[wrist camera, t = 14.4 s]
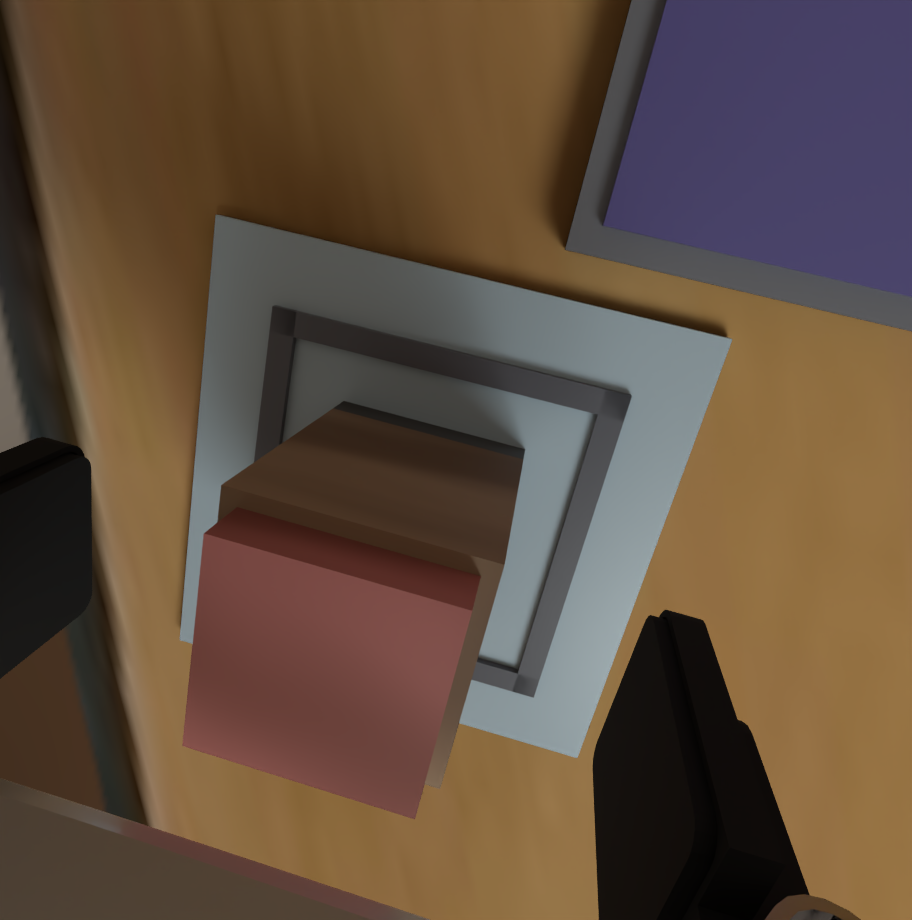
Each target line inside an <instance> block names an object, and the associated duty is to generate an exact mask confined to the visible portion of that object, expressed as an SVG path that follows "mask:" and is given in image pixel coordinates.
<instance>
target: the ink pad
mask: <svg viewBox="0 0 912 920" xmlns="http://www.w3.org/2000/svg"><path fill="white" fill-rule="evenodd" d="M565 250H568V251H573V252H577V253H581V254H585V255H590V256H594V257H598V258H602V259H607V260H611V261H615V262H619V263H624V264H628V265H632V266H636V267H641V268H645V269H649V270H653V271H658V272H662V273H666V274H670V275H674V276H679V277H683V278H687V279H691V280H696V281H700V282H704V283H708V284H713V285H717V286H721V287H725V288H730V289H734V290H738V291H742V292H747V293H751V294H755V295H759V296H764V297H768V298H772V299H776V300H781V301H785V302H789V303H793V304H798V305H802V306H806V307H810V308H815V309H819V310H823V311H827V312H832V313H836V314H840V315H844V316H849V317H853V318H857V319H861V320H866V321H870V322H874V323H878V324H883V325H887V326H891V327H895V328H900V329H904V330H908V331H912V0H631V4H630V8H629V12H628V15H627V19H626V23H625V27H624V30H623V34H622V38H621V42H620V45H619V49H618V53H617V57H616V60H615V64H614V68H613V72H612V75H611V79H610V83H609V87H608V90H607V94H606V98H605V102H604V105H603V109H602V113H601V117H600V120H599V124H598V128H597V132H596V135H595V139H594V143H593V147H592V150H591V154H590V158H589V162H588V165H587V169H586V173H585V177H584V180H583V184H582V188H581V192H580V195H579V199H578V203H577V207H576V210H575V214H574V218H573V222H572V225H571V229H570V233H569V237H568V240H567V244H566V248H565Z"/></svg>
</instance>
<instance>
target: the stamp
mask: <svg viewBox="0 0 912 920" xmlns="http://www.w3.org/2000/svg"><path fill="white" fill-rule="evenodd" d="M524 454H525V449H522V448H519V447H515V446H511V445H507V444H504V443H500V442H496V441H492V440H489V439H485V438H481V437H477V436H474V435H470V434H466V433H463V432H459V431H455V430H451V429H448V428H444V427H440V426H436V425H433V424H429V423H425V422H421V421H418V420H414V419H410V418H406V417H403V416H399V415H395V414H391V413H388V412H384V411H380V410H376V409H373V408H369V407H365V406H361V405H358V404H354V403H350V402H347V401H343V402H341V403H340V404H339V405H337V406H336V407H334V408H333V409H331V410H330V411H328V412H327V413H325V414H324V415H323V416H321V417H320V418H318V419H317V420H315V421H314V422H312V423H311V424H309V425H308V426H306V427H305V428H304V429H302V430H301V431H299V432H298V433H296V434H295V435H293V436H292V437H290V438H289V439H288V440H286V441H285V442H283V443H282V444H280V445H279V446H277V447H276V448H274V449H273V450H271V451H270V452H269V453H267V454H266V455H264V456H263V457H261V458H260V459H258V460H257V461H255V462H254V463H253V464H251V465H250V466H248V467H247V468H245V469H244V470H242V471H241V472H239V473H238V474H236V475H235V476H234V477H232V478H231V479H229V480H228V481H226V482H225V483H223V484H222V485H221V492H220V501H219V511H218V520H217V523H216V524H215V525H214V526H212V527H211V528H210V529H209V530H207V531H206V532H205V533H204V535H203V545H202V555H201V565H200V575H199V585H198V595H197V605H196V615H195V625H194V635H193V645H192V655H191V665H190V675H189V685H188V695H187V705H186V715H185V725H184V735H183V745H182V746H185V747H188V748H191V749H194V750H197V751H200V752H204V753H207V754H210V755H213V756H216V757H219V758H223V759H226V760H229V761H232V762H235V763H238V764H242V765H245V766H248V767H251V768H254V769H257V770H261V771H264V772H267V773H270V774H273V775H276V776H280V777H283V778H286V779H289V780H292V781H295V782H299V783H302V784H305V785H308V786H311V787H314V788H318V789H321V790H324V791H327V792H330V793H333V794H337V795H340V796H343V797H346V798H349V799H352V800H356V801H359V802H362V803H365V804H368V805H371V806H375V807H378V808H381V809H384V810H387V811H390V812H394V813H397V814H400V815H403V816H406V817H409V818H413V819H415V817H416V813H417V809H418V806H419V802H420V799H421V795H422V791H423V788H424V784H426V785H429V786H432V787H435V788H439V789H440V787H441V784H442V780H443V777H444V773H445V770H446V766H447V763H448V759H449V756H450V752H451V749H452V746H453V742H454V739H455V735H456V732H457V728H458V725H459V721H460V718H461V714H462V711H463V707H464V704H465V700H466V697H467V694H468V690H469V687H470V683H471V680H472V676H473V673H474V669H475V666H476V662H477V659H478V655H479V652H480V649H481V645H482V642H483V638H484V635H485V631H486V628H487V624H488V621H489V617H490V614H491V610H492V607H493V603H494V600H495V597H496V593H497V590H498V586H499V583H500V579H501V576H502V572H503V569H504V565H505V560H506V555H507V549H508V543H509V538H510V532H511V527H512V521H513V515H514V510H515V504H516V499H517V493H518V488H519V482H520V476H521V471H522V465H523V460H524Z"/></svg>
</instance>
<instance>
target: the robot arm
mask: <svg viewBox="0 0 912 920" xmlns="http://www.w3.org/2000/svg"><path fill="white" fill-rule="evenodd" d="M91 596H92V519H91V464H90V462H89V460H88V459H87V458H85V457H84V453H83V451H82V450H81V449H80V448H79V447H78V446H74V445H71V444H67V443H64V442H60V441H56V440H53V439H49V438H45V437H41V438H36V439H34V440H31V441H29V442H26V443H24V444H21V445H19V446H17V447H14V448H11V449H9V450H7V451H4V452H1V453H0V678H2V677H3V676H4V675H5V674H6V673H8V672H9V671H10V670H12V669H13V668H14V667H15V666H17V665H18V664H19V663H20V662H21V661H23V660H24V659H25V658H27V657H28V656H29V655H30V654H31V653H33V652H34V651H35V650H37V649H38V648H39V647H40V646H42V645H43V644H44V643H45V642H47V641H48V640H49V639H50V638H52V637H53V636H54V635H55V634H57V633H58V632H59V631H60V630H62V629H63V628H64V627H65V626H67V625H68V624H69V623H71V622H72V621H73V620H74V619H76V618H77V617H78V616H79V615H80V614H81V613H82V612H83V611H84V610H85V609H86V607H87V606H88V604H89V602H90V599H91ZM593 787H594V811H595V835H596V860H597V884H598V908H599V920H861V919H859V918H858V917H857V916H855V915H854V914H852V913H851V912H850V911H848V910H846V909H844V908H842V907H840V906H838V905H836V904H834V903H832V902H830V901H828V900H826V899H823V898H819V897H814V896H810V895H809V892H808V889H807V887H806V884H805V881H804V878H803V875H802V873H801V870H800V867H799V864H798V861H797V859H796V856H795V853H794V850H793V847H792V845H791V842H790V839H789V836H788V833H787V830H786V828H785V825H784V822H783V819H782V816H781V814H780V811H779V808H778V805H777V802H776V800H775V797H774V794H773V791H772V788H771V786H770V783H769V780H768V777H767V774H766V772H765V769H764V766H763V763H762V760H761V757H760V755H759V752H758V749H757V746H756V743H755V741H754V738H753V735H752V733H751V731H750V729H749V727H748V725H746V724H745V723H744V722H742V721H739V720H737V717H736V714H735V711H734V708H733V705H732V702H731V699H730V696H729V693H728V690H727V687H726V684H725V681H724V678H723V675H722V672H721V669H720V666H719V663H718V660H717V657H716V655H715V652H714V649H713V646H712V643H711V640H710V637H709V634H708V631H707V628H706V625H705V623H704V621H703V620H701V619H698V618H694V617H690V616H687V615H683V614H680V613H676V612H672V611H669V610H665V611H663V612H662V613H661V615H660V616H659V617H655V616H652V615H650V616H648V618H647V619H646V621H645V623H644V626H643V628H642V631H641V633H640V636H639V638H638V641H637V643H636V646H635V648H634V651H633V653H632V656H631V658H630V661H629V663H628V666H627V668H626V671H625V673H624V676H623V678H622V681H621V683H620V686H619V688H618V691H617V693H616V696H615V698H614V701H613V703H612V706H611V708H610V711H609V714H608V716H607V719H606V721H605V724H604V726H603V729H602V731H601V734H600V736H599V739H598V741H597V744H596V748H595V752H594V758H593ZM0 920H429V919H426V918H423V917H420V916H417V915H414V914H411V913H408V912H405V911H402V910H399V909H396V908H393V907H390V906H387V905H384V904H381V903H378V902H375V901H372V900H369V899H366V898H363V897H360V896H357V895H354V894H351V893H348V892H345V891H342V890H339V889H336V888H333V887H330V886H327V885H324V884H321V883H318V882H315V881H312V880H309V879H306V878H303V877H300V876H297V875H294V874H291V873H288V872H285V871H282V870H279V869H276V868H273V867H270V866H267V865H264V864H261V863H258V862H255V861H252V860H249V859H246V858H243V857H240V856H237V855H234V854H231V853H228V852H225V851H222V850H219V849H216V848H213V847H210V846H207V845H204V844H201V843H198V842H195V841H191V840H188V839H185V838H182V837H179V836H176V835H173V834H170V833H167V832H164V831H161V830H158V829H155V828H152V827H149V826H146V825H143V824H139V823H136V822H133V821H130V820H127V819H124V818H121V817H118V816H115V815H112V814H109V813H106V812H103V811H100V810H97V809H93V808H90V807H87V806H84V805H81V804H78V803H75V802H72V801H69V800H66V799H63V798H60V797H57V796H53V795H50V794H47V793H44V792H41V791H38V790H35V789H32V788H29V787H26V786H23V785H20V784H16V783H13V782H10V781H7V780H4V779H1V778H0Z"/></svg>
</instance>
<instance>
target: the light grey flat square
mask: <svg viewBox="0 0 912 920" xmlns="http://www.w3.org/2000/svg"><path fill="white" fill-rule="evenodd" d="M731 342H732V339H731V338H728V337H724V336H720V335H716V334H712V333H708V332H704V331H699V330H695V329H691V328H687V327H683V326H679V325H675V324H670V323H666V322H662V321H658V320H654V319H650V318H646V317H641V316H637V315H633V314H629V313H625V312H621V311H617V310H612V309H608V308H604V307H600V306H596V305H592V304H588V303H583V302H579V301H575V300H571V299H567V298H563V297H559V296H554V295H550V294H546V293H542V292H538V291H534V290H530V289H525V288H521V287H517V286H513V285H509V284H505V283H501V282H496V281H492V280H488V279H484V278H480V277H476V276H472V275H467V274H463V273H459V272H455V271H451V270H447V269H443V268H438V267H434V266H430V265H426V264H422V263H418V262H414V261H409V260H405V259H401V258H397V257H393V256H389V255H385V254H380V253H376V252H372V251H368V250H364V249H360V248H356V247H351V246H347V245H343V244H339V243H335V242H331V241H327V240H323V239H318V238H314V237H310V236H306V235H302V234H298V233H294V232H289V231H285V230H281V229H277V228H273V227H269V226H265V225H260V224H256V223H252V222H248V221H244V220H240V219H236V218H231V217H227V216H223V215H216V217H215V229H214V240H213V252H212V264H211V276H210V288H209V300H208V311H207V323H206V335H205V347H204V359H203V371H202V383H201V394H200V406H199V418H198V430H197V442H196V454H195V465H194V477H193V489H192V501H191V513H190V525H189V536H188V548H187V560H186V572H185V584H184V596H183V608H182V619H181V631H180V640H182V641H185V642H188V643H192V644H193V635H194V625H195V615H196V605H197V595H198V585H199V575H200V565H201V555H202V545H203V535H204V533H205V532H206V531H207V530H209V529H210V528H211V527H212V526H214V525H215V524H216V523H217V520H218V511H219V501H220V492H221V485H222V484H223V483H225V482H226V481H228V480H229V479H231V478H232V477H234V476H235V475H236V474H238V473H239V472H241V471H242V470H244V469H245V468H247V467H248V466H250V465H251V464H253V463H254V462H255V461H257V460H258V459H260V458H261V457H263V456H264V455H266V454H267V453H269V452H270V451H271V450H273V449H274V448H276V447H277V446H279V445H280V444H282V443H283V442H285V441H286V440H288V439H289V438H290V437H292V436H293V435H295V434H296V433H298V432H299V431H301V430H302V429H304V428H305V427H306V426H308V425H309V424H311V423H312V422H314V421H315V420H317V419H318V418H320V417H321V416H323V415H324V414H325V413H327V412H328V411H330V410H331V409H333V408H334V407H336V406H337V405H339V404H340V403H341V402H343V401H347V402H350V403H354V404H358V405H361V406H365V407H369V408H373V409H376V410H380V411H384V412H388V413H391V414H395V415H399V416H403V417H406V418H410V419H414V420H418V421H421V422H425V423H429V424H433V425H436V426H440V427H444V428H448V429H451V430H455V431H459V432H463V433H466V434H470V435H474V436H477V437H481V438H485V439H489V440H492V441H496V442H500V443H504V444H507V445H511V446H515V447H519V448H522V449H525V454H524V460H523V465H522V471H521V476H520V482H519V488H518V493H517V499H516V504H515V510H514V515H513V521H512V527H511V532H510V538H509V543H508V549H507V555H506V560H505V565H504V569H503V572H502V576H501V579H500V583H499V586H498V590H497V593H496V597H495V600H494V603H493V607H492V610H491V614H490V617H489V621H488V624H487V628H486V631H485V635H484V638H483V642H482V645H481V649H480V652H479V655H478V659H477V662H476V666H475V669H474V673H473V676H472V680H471V683H470V687H469V690H468V694H467V697H466V700H465V704H464V707H463V711H462V714H461V718H460V721H459V723H461V724H464V725H468V726H471V727H474V728H478V729H481V730H484V731H488V732H491V733H495V734H498V735H501V736H505V737H508V738H511V739H515V740H518V741H521V742H525V743H528V744H532V745H535V746H538V747H542V748H545V749H548V750H552V751H555V752H558V753H562V754H565V755H569V756H572V757H575V758H577V757H578V755H579V752H580V749H581V747H582V744H583V741H584V739H585V736H586V733H587V730H588V728H589V725H590V722H591V720H592V717H593V714H594V712H595V709H596V706H597V703H598V701H599V698H600V695H601V693H602V690H603V687H604V685H605V682H606V679H607V676H608V674H609V671H610V668H611V666H612V663H613V660H614V658H615V655H616V652H617V649H618V647H619V644H620V641H621V639H622V636H623V633H624V631H625V628H626V625H627V622H628V620H629V617H630V614H631V612H632V609H633V606H634V604H635V601H636V598H637V595H638V593H639V590H640V587H641V585H642V582H643V579H644V577H645V574H646V571H647V568H648V566H649V563H650V560H651V558H652V555H653V552H654V550H655V547H656V544H657V541H658V539H659V536H660V533H661V531H662V528H663V525H664V523H665V520H666V517H667V514H668V512H669V509H670V506H671V504H672V501H673V498H674V496H675V493H676V490H677V487H678V485H679V482H680V479H681V477H682V474H683V471H684V469H685V466H686V463H687V460H688V458H689V455H690V452H691V450H692V447H693V444H694V442H695V439H696V436H697V433H698V431H699V428H700V425H701V423H702V420H703V417H704V415H705V412H706V409H707V406H708V404H709V401H710V398H711V396H712V393H713V390H714V388H715V385H716V382H717V379H718V377H719V374H720V371H721V369H722V366H723V363H724V361H725V358H726V355H727V352H728V350H729V347H730V344H731Z"/></svg>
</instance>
